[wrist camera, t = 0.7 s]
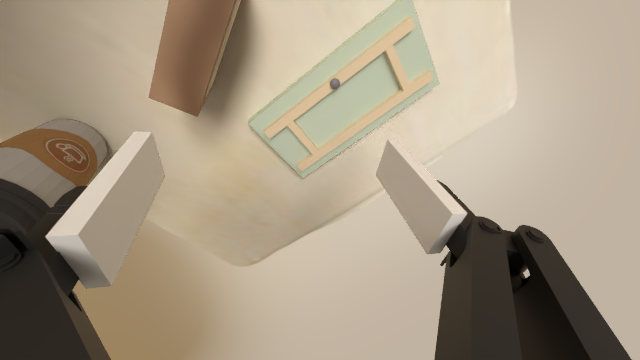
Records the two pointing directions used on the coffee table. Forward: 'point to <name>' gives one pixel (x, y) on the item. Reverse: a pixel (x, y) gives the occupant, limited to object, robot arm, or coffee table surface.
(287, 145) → the mint cabinet door
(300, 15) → the coffee table surface
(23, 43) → the coffee table surface
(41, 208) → the coffee cup
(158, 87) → the brown wooden picture frame
